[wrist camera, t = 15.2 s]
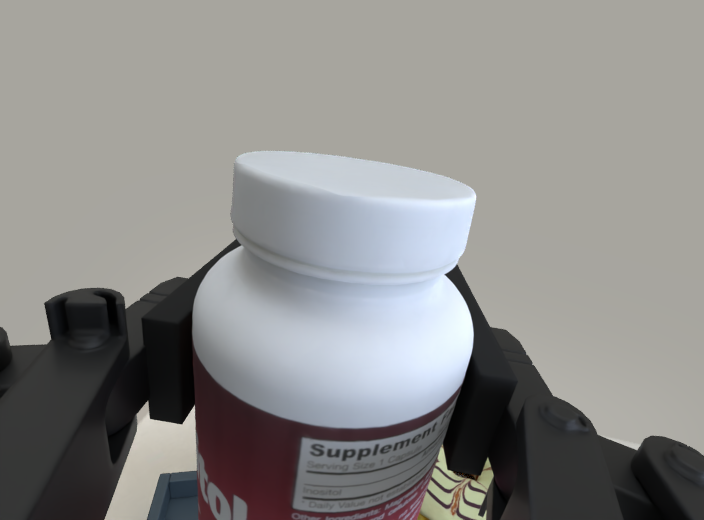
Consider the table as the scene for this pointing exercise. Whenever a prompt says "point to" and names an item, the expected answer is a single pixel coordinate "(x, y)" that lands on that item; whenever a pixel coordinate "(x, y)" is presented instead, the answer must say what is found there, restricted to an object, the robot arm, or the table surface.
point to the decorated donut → (454, 493)
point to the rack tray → (175, 497)
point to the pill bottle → (329, 340)
